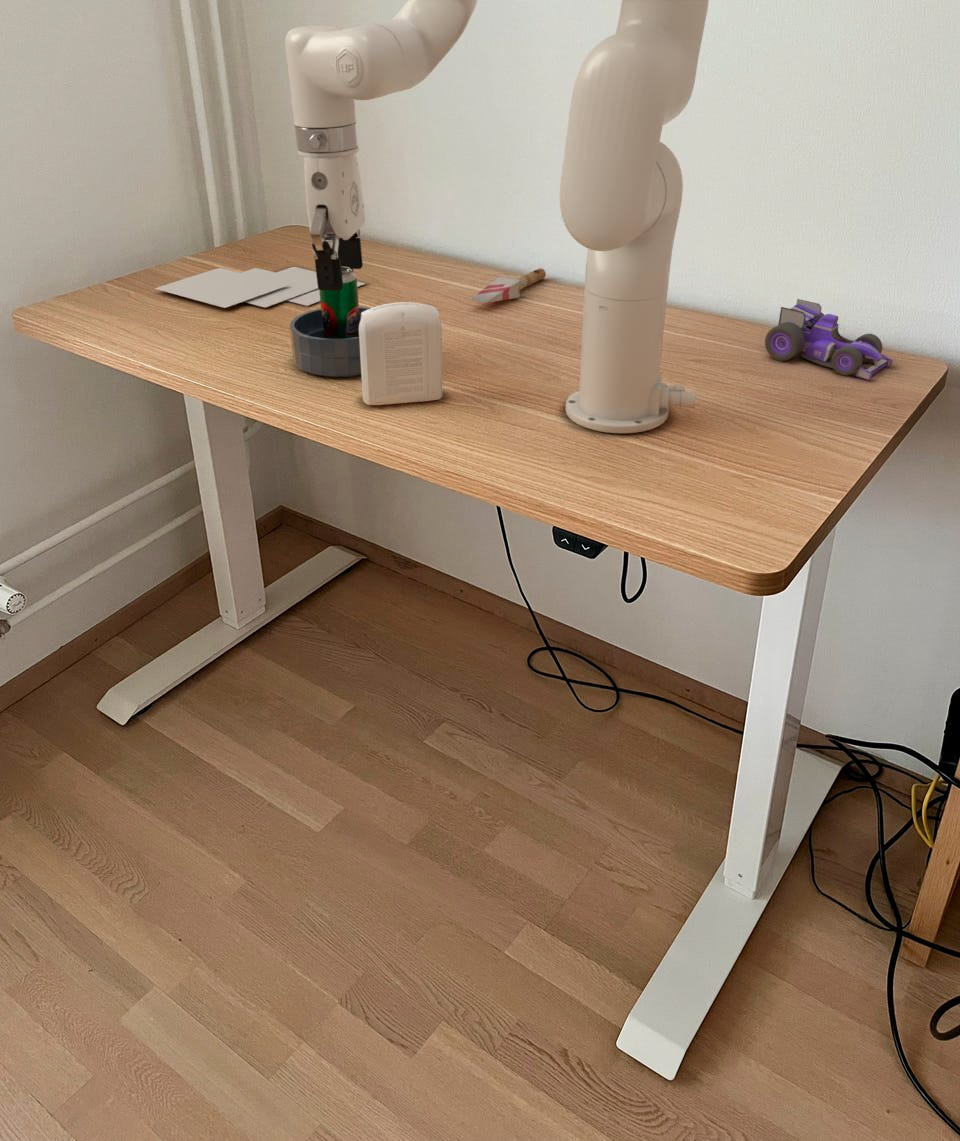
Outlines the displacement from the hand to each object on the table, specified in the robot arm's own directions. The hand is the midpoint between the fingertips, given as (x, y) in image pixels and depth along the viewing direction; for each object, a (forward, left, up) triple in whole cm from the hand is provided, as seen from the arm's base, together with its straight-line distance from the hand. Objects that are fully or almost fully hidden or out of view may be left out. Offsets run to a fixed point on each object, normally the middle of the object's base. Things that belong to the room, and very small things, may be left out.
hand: (341, 278), depth 134 cm
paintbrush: (-18, -32, -12) cm, 39 cm away
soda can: (+1, 0, -11) cm, 11 cm away
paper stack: (+23, -29, -12) cm, 39 cm away
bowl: (+1, 0, -12) cm, 12 cm away
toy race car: (-65, -10, -12) cm, 67 cm away
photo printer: (-10, +11, -12) cm, 19 cm away
